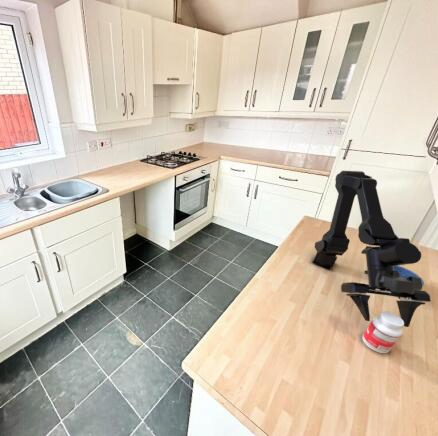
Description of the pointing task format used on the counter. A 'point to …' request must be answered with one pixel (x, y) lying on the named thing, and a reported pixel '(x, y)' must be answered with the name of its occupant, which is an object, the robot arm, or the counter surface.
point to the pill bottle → (383, 332)
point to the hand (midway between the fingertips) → (386, 323)
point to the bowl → (406, 273)
